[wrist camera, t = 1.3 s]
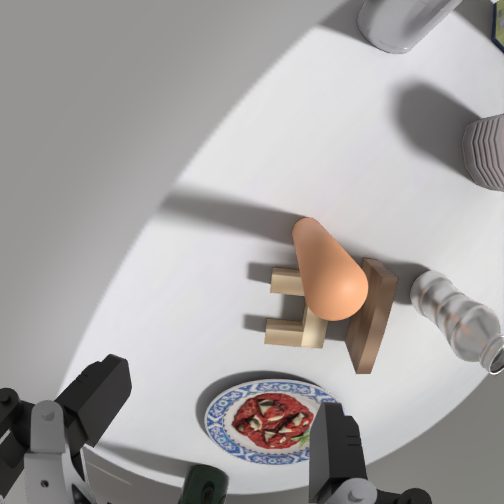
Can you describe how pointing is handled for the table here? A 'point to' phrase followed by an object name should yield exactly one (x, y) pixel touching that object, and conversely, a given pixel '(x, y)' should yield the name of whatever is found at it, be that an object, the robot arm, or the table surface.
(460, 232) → the table surface
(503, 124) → the can
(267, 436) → the ceramic plate
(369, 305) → the wall
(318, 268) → the dowel
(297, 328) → the block
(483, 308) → the plastic bottle
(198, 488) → the dark green wine bottle
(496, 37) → the protein box
